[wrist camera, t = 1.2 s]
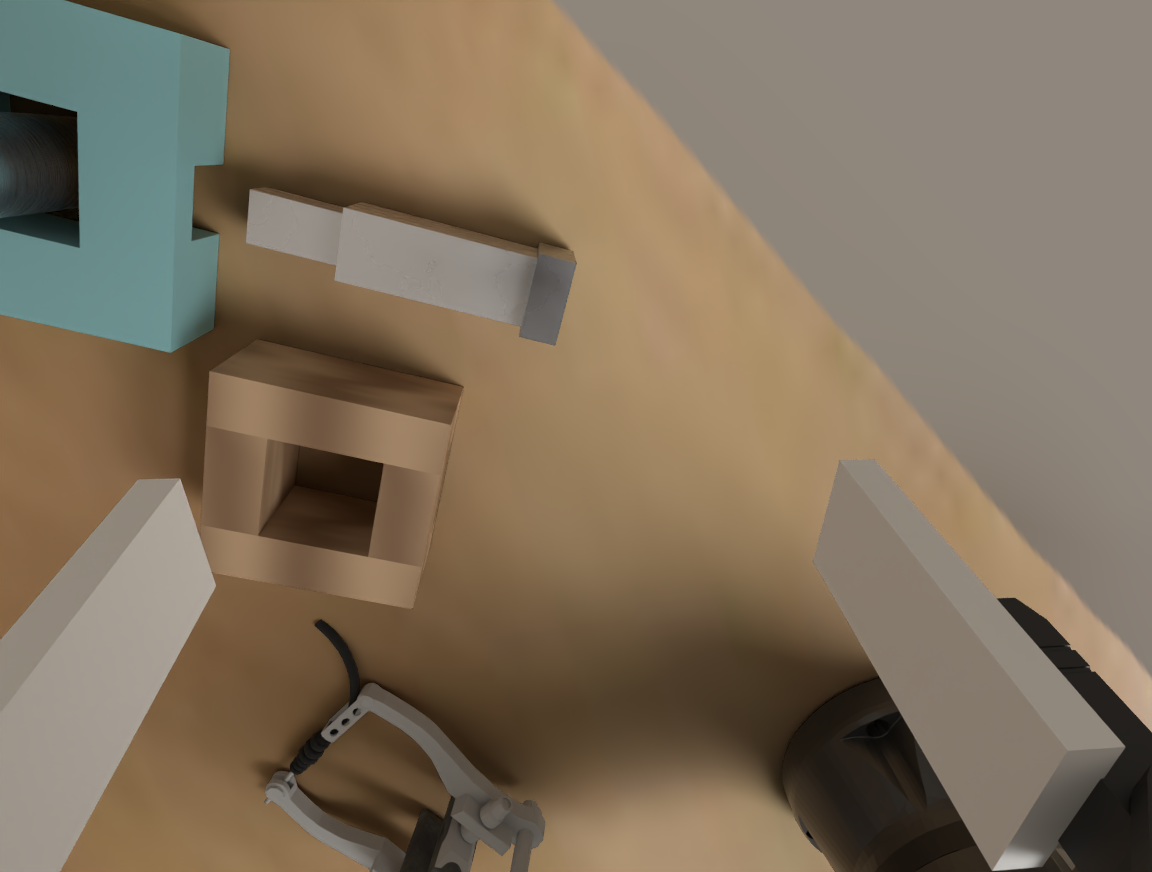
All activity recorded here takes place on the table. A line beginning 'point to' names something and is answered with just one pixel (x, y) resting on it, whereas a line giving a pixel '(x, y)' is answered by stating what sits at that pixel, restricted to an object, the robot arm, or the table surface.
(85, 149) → the socket block
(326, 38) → the table surface
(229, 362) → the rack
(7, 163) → the metal flashlight
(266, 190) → the pale gray faceted bar
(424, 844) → the bike brake
